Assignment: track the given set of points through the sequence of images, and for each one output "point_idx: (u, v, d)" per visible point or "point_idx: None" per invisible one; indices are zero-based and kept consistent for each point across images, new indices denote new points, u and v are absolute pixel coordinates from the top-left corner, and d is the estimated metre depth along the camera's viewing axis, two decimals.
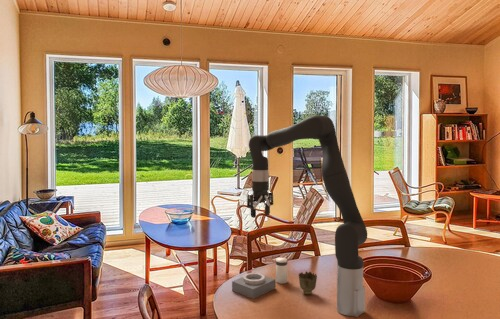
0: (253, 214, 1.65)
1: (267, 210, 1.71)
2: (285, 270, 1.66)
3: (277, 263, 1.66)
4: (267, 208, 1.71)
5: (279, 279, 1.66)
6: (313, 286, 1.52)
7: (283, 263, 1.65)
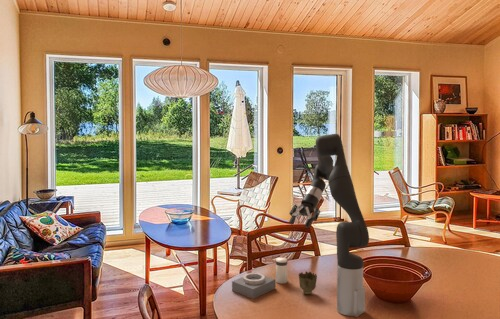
0: (290, 220, 1.80)
1: None
2: (285, 270, 1.66)
3: (277, 263, 1.66)
4: None
5: (279, 279, 1.66)
6: (313, 286, 1.52)
7: (283, 263, 1.65)
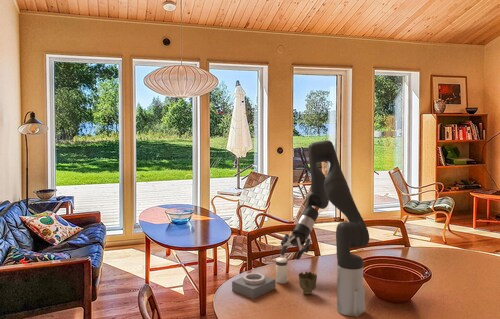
0: (281, 250, 1.75)
1: None
2: (285, 270, 1.66)
3: (277, 263, 1.66)
4: None
5: (279, 279, 1.66)
6: (313, 286, 1.52)
7: (283, 263, 1.65)
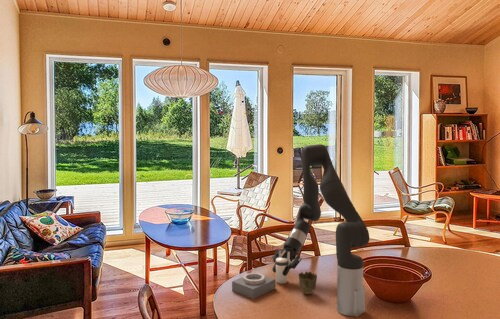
0: (273, 267, 1.69)
1: None
2: None
3: (277, 263, 1.66)
4: None
5: (279, 279, 1.66)
6: (313, 286, 1.52)
7: (283, 263, 1.65)
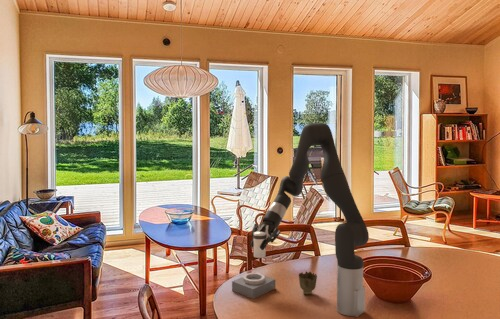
0: (251, 242, 1.61)
1: None
2: None
3: (254, 236, 1.58)
4: None
5: (256, 253, 1.58)
6: (313, 286, 1.52)
7: (260, 236, 1.57)
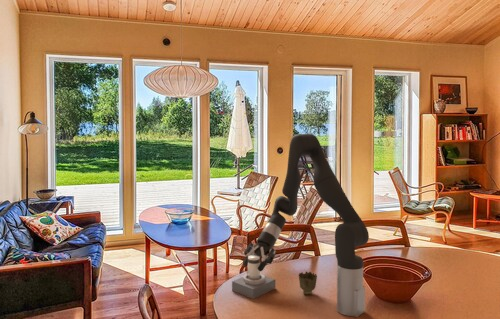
0: (244, 261, 1.61)
1: None
2: (257, 268, 1.57)
3: (249, 261, 1.57)
4: None
5: (251, 277, 1.57)
6: (313, 286, 1.52)
7: (255, 261, 1.56)
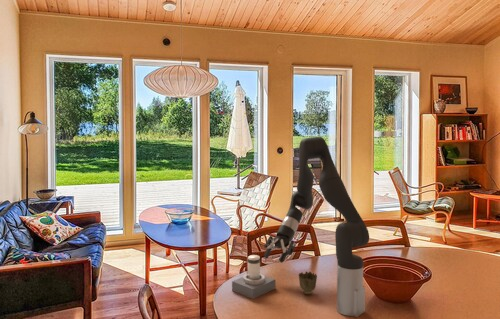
0: (265, 253, 1.71)
1: None
2: (257, 268, 1.57)
3: (249, 261, 1.57)
4: None
5: (251, 277, 1.57)
6: (313, 286, 1.52)
7: (255, 261, 1.56)
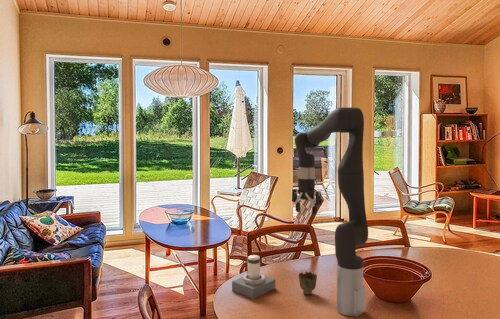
0: (296, 208, 1.72)
1: None
2: (257, 268, 1.57)
3: (249, 261, 1.57)
4: None
5: (251, 277, 1.57)
6: (313, 286, 1.52)
7: (255, 261, 1.56)
